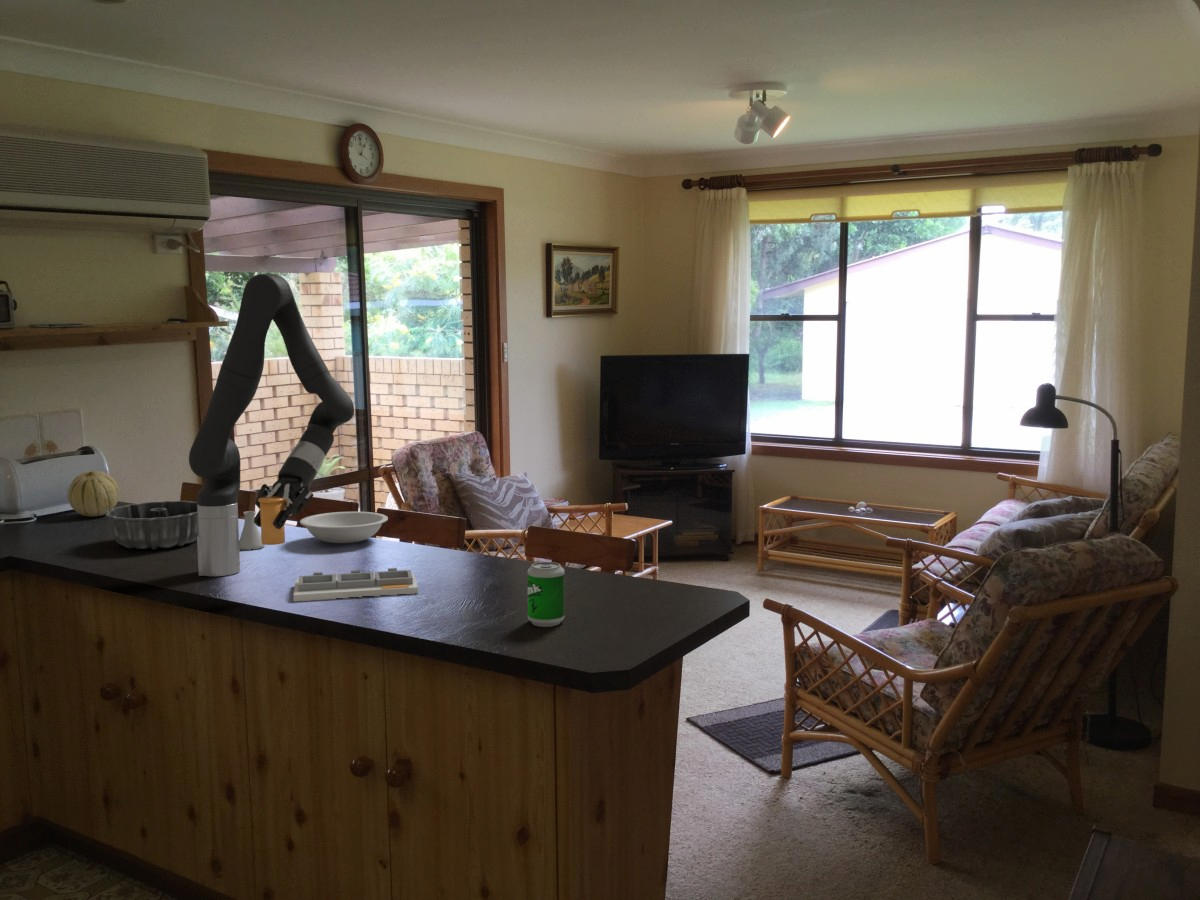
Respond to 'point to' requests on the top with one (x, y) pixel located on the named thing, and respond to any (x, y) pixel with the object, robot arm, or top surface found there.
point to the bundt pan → (154, 524)
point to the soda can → (546, 594)
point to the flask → (250, 533)
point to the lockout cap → (271, 520)
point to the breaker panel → (354, 585)
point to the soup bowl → (344, 526)
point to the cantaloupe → (93, 493)
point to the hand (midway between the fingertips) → (266, 525)
